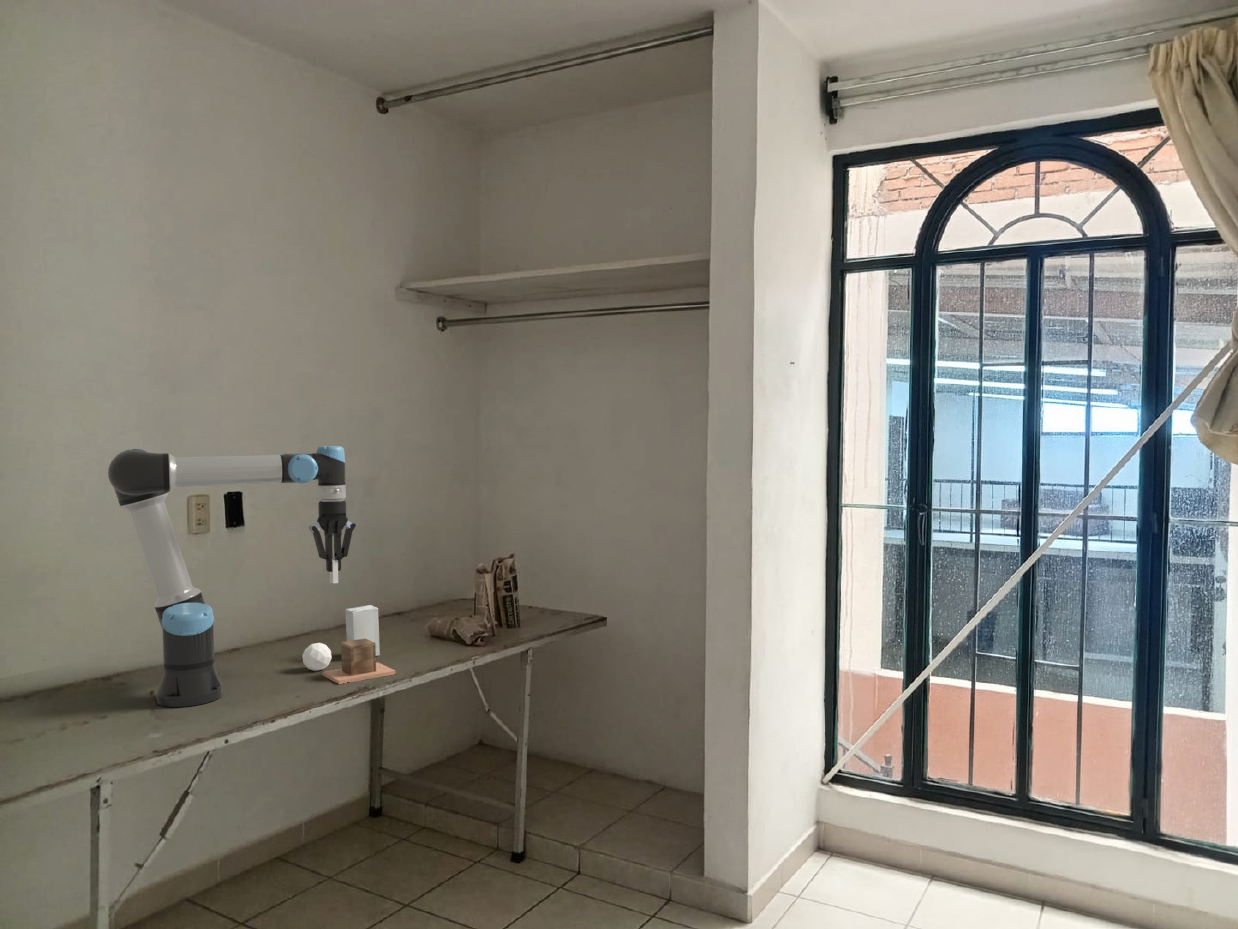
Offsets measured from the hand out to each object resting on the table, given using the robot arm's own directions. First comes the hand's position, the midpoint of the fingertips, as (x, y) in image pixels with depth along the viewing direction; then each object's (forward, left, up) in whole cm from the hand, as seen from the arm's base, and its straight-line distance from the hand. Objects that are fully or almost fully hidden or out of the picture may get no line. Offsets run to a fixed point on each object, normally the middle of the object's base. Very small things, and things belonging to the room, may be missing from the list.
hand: (334, 582), depth 258 cm
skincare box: (+11, +7, -25) cm, 28 cm away
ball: (-5, +1, -25) cm, 25 cm away
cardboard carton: (+2, -12, -23) cm, 26 cm away
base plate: (+2, -12, -24) cm, 27 cm away
